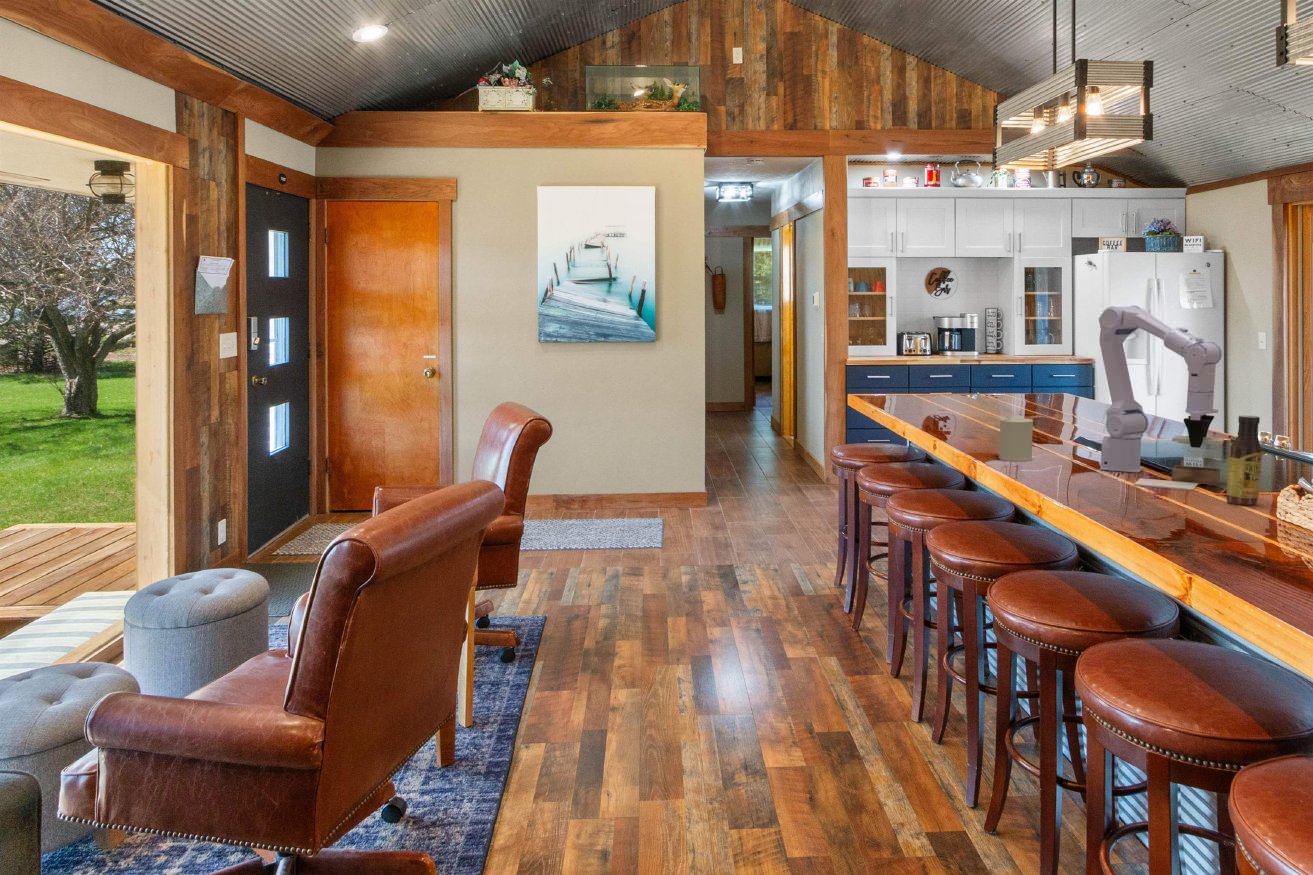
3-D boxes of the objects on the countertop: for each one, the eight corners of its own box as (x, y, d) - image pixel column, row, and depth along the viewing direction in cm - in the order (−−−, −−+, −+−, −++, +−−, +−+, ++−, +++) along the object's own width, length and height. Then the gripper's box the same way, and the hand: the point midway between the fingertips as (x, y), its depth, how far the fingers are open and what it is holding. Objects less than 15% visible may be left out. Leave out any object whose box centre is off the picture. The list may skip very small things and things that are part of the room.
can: (995, 456, 284) (996, 416, 283) (1027, 456, 284) (1028, 416, 282) (1003, 461, 275) (1004, 420, 274) (1036, 461, 274) (1037, 420, 273)
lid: (1172, 443, 240) (1172, 438, 239) (1175, 440, 244) (1175, 435, 244) (1220, 446, 233) (1221, 441, 233) (1223, 443, 238) (1223, 438, 238)
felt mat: (1133, 485, 238) (1133, 483, 238) (1140, 479, 245) (1140, 478, 245) (1193, 490, 230) (1193, 489, 230) (1198, 484, 237) (1198, 483, 237)
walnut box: (1171, 481, 241) (1172, 468, 241) (1174, 478, 245) (1175, 465, 245) (1216, 485, 235) (1217, 471, 235) (1219, 482, 239) (1220, 468, 239)
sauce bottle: (1245, 507, 211) (1251, 418, 209) (1219, 502, 217) (1224, 415, 214) (1265, 504, 214) (1271, 416, 211) (1238, 499, 220) (1244, 413, 217)
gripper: (1215, 395, 229) (1212, 450, 231) (1222, 389, 240) (1219, 442, 242) (1182, 393, 233) (1179, 448, 235) (1190, 388, 244) (1187, 440, 246)
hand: (1197, 445), depth 239 cm, fingers closed on lid, 6 cm apart
